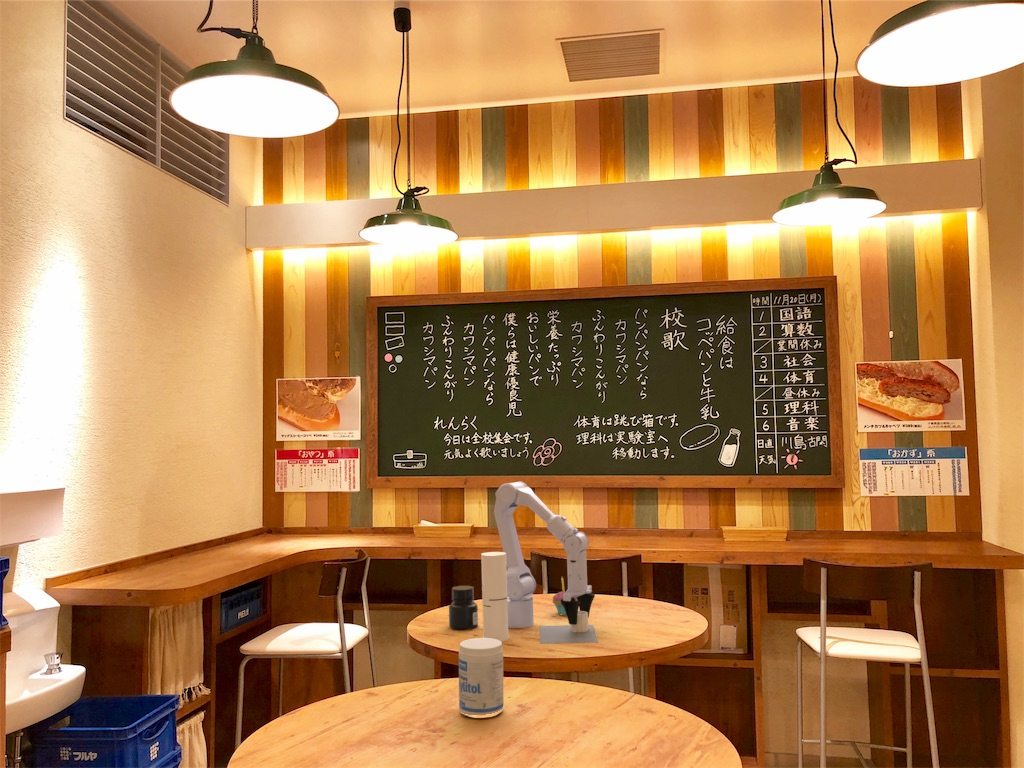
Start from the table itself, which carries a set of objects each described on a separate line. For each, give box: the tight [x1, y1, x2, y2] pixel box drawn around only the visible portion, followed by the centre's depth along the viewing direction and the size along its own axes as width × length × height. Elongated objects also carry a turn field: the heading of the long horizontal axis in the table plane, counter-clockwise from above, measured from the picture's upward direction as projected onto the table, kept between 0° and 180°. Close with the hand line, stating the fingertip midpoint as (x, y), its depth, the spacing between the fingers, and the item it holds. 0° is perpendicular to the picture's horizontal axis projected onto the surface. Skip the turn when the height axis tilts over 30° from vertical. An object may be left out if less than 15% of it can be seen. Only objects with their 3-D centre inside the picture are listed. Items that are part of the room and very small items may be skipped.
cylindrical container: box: [480, 551, 510, 643], centre depth 230 cm, size 7×7×25 cm
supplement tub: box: [458, 637, 505, 715], centre depth 173 cm, size 10×10×15 cm
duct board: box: [539, 624, 599, 645], centre depth 233 cm, size 16×20×6 cm
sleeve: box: [569, 610, 589, 632], centre depth 237 cm, size 5×5×5 cm
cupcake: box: [552, 577, 578, 616], centre depth 263 cm, size 9×8×12 cm
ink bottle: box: [448, 585, 479, 631], centre depth 249 cm, size 10×9×12 cm
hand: (578, 621), depth 237 cm, fingers open, 7 cm apart
